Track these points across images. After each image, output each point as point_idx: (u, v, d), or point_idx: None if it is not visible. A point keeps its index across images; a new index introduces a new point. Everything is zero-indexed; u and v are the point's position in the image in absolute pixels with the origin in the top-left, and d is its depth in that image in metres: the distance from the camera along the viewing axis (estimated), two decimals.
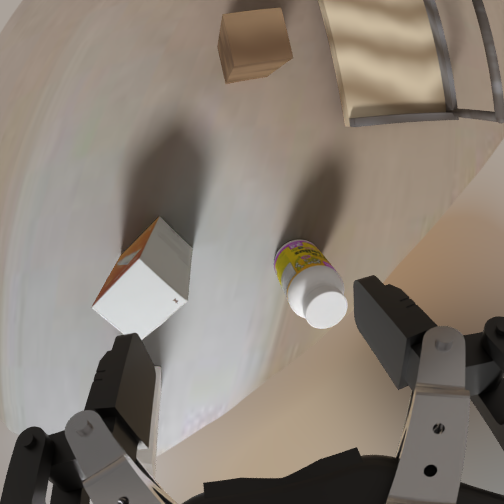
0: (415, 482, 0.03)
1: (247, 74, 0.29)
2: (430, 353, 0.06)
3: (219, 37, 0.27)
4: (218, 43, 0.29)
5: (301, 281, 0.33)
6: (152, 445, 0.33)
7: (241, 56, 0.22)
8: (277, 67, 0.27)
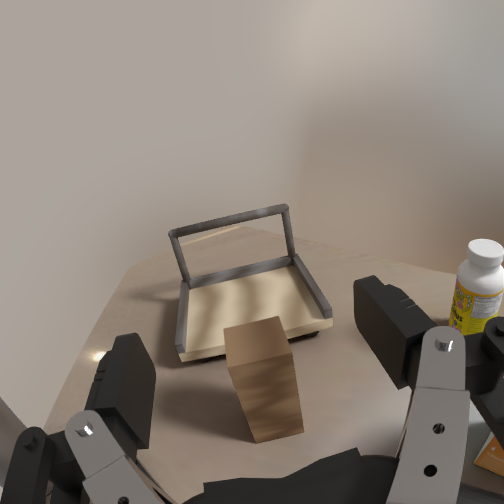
0: (415, 482, 0.03)
1: None
2: (430, 353, 0.06)
3: (248, 417, 0.26)
4: (253, 432, 0.27)
5: (478, 282, 0.27)
6: None
7: (280, 348, 0.24)
8: None
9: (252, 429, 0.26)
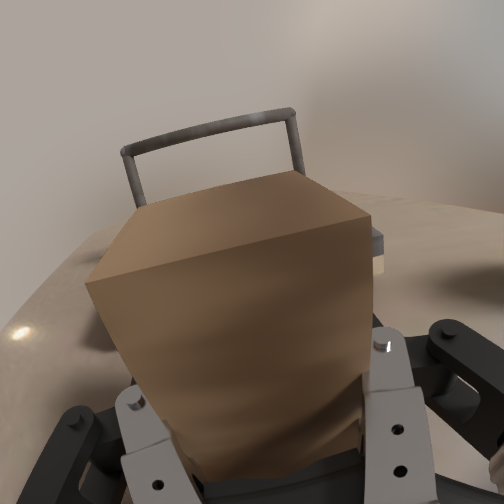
0: (388, 485, 0.04)
1: None
2: None
3: (208, 474, 0.08)
4: None
5: None
6: None
7: (317, 211, 0.06)
8: None
9: None
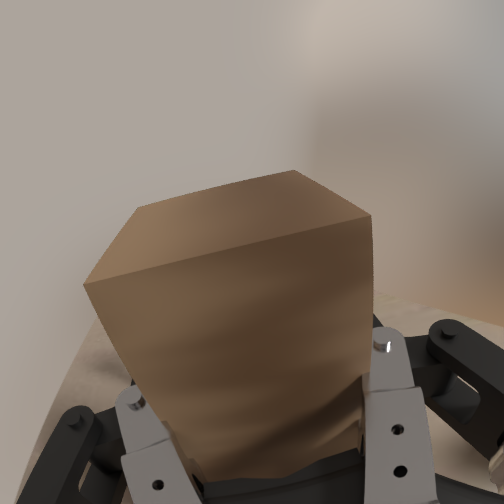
0: (388, 486, 0.04)
1: None
2: None
3: (208, 475, 0.08)
4: None
5: None
6: None
7: (316, 211, 0.06)
8: None
9: None
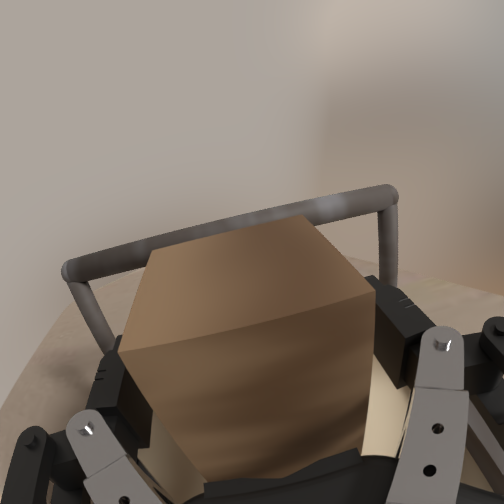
0: (414, 482, 0.03)
1: None
2: (429, 353, 0.06)
3: None
4: None
5: None
6: None
7: (326, 282, 0.06)
8: None
9: None
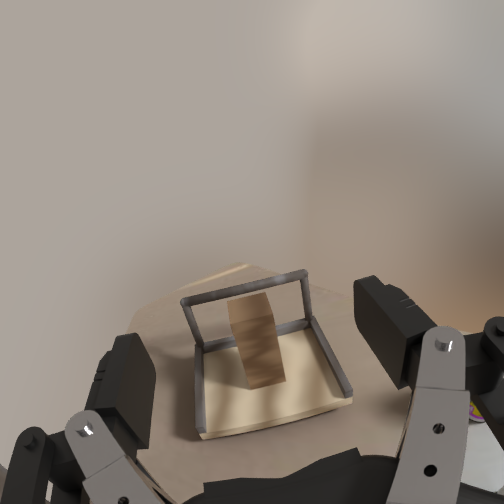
0: (415, 482, 0.03)
1: None
2: (430, 353, 0.06)
3: (244, 365, 0.38)
4: (248, 379, 0.39)
5: None
6: None
7: (265, 311, 0.36)
8: None
9: (247, 376, 0.39)
